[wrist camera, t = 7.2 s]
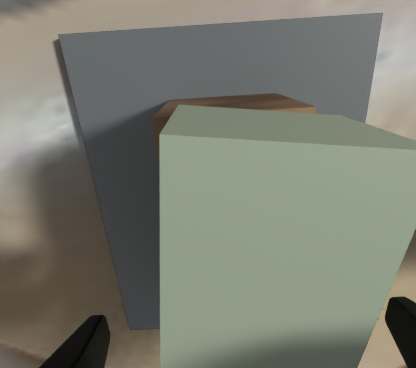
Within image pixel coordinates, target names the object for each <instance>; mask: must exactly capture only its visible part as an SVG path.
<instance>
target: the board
mask: <svg viewBox="0 0 416 368" xmlns="http://www.w3.org/2000/svg"><path fill="white" fill-rule="evenodd" d="M382 16H383V13H371V14H356V15H341V16H326V17H311V18H296V19H281V20H266V21H251V22H237V23H222V24H207V25H192V26H177V27H162V28H147V29H132V30H117V31H102V32H87V33H72V34H58V36H59V40H60V44H61V48H62V52H63V56H64V61H65V65H66V69H67V73H68V77H69V81H70V85H71V89H72V94H73V98H74V102H75V106H76V110H77V114H78V118H79V122H80V126H81V131H82V135H83V139H84V143H85V147H86V151H87V155H88V159H89V164H90V168H91V172H92V176H93V180H94V184H95V188H96V192H97V197H98V201H99V205H100V209H101V213H102V217H103V221H104V225H105V230H106V234H107V238H108V242H109V246H110V250H111V254H112V258H113V263H114V267H115V271H116V275H117V279H118V283H119V287H120V291H121V296H122V300H123V304H124V308H125V312H126V316H127V320H128V324H129V329H130V330H144V329H160V168H159V161H158V154H157V146H156V139H155V132H154V125H153V116H154V115H155V114H156V113H157V112H158V111H159V110H160V109H161V108H162V107H163V106H164V105H165V104H166V103H167V102H168V101H169V100H175V99H190V98H206V97H221V96H236V95H252V94H267V93H277V94H280V95H283V96H286V97H289V98H292V99H295V100H298V101H301V102H304V103H307V104H310V105H312V106H315V107H316V114H329V115H342V116H345V117H347V118H350V119H353V120H356V121H359V122H362V123H365V121H366V115H367V109H368V102H369V96H370V90H371V84H372V78H373V72H374V66H375V59H376V53H377V47H378V41H379V35H380V29H381V23H382Z"/></svg>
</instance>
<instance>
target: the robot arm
mask: <svg viewBox="0 0 416 368" xmlns="http://www.w3.org/2000/svg"><path fill="white" fill-rule="evenodd" d="M385 321H386V324H387V326H388V328H389V330H390V332H391V334H392V336H393V338H394V341H395V343H396V345H397V347H398V349H399V351H400V353H401V355H402V357H403V359H404V361H405V363H406V365H407V367H408V368H416V303H415V302H413V301H412V300H410V299H408V298H406V297H392V298H390V299H389V302H388V306H387V310H386V314H385ZM109 343H110V331H109V327H108V324H107V320H106V317H105V316H104V315H93V316H90V317H89V318H88V319H87V320H86V321H85V322H84V323H83V324H82V325H81V326H80V327H79V328H78V329H77V330H76V331H75V332H74V333H73V334H72V335H71V336H70V337H69V338H68V339H67V340H66V341H65V342H64V343H63V344H62V345H61V346H60V347H59V348H58V349H57V350H56V351H55V352H54V353H53V354H52V355H51V356H50V357H49V358H48V359H47V360H46V361H45V362H44V363H43V364H42V365H41V366H40V367H39V368H104V367H105V362H106V357H107V352H108V348H109Z"/></svg>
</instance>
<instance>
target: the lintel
mask: <svg viewBox="0 0 416 368" xmlns="http://www.w3.org/2000/svg"><path fill="white" fill-rule="evenodd" d="M159 142H160V368H357V367H358V365H359V362H360V360H361V357H362V355H363V353H364V350H365V348H366V346H367V343H368V341H369V338H370V336H371V334H372V331H373V329H374V327H375V324H376V322H377V320H378V317H379V315H380V312H381V310H382V308H383V305H384V303H385V301H386V298H387V296H388V293H389V291H390V289H391V286H392V284H393V282H394V279H395V277H396V274H397V272H398V270H399V267H400V265H401V263H402V260H403V258H404V256H405V253H406V251H407V248H408V246H409V244H410V241H411V239H412V237H413V234H414V232H415V229H416V141H415V140H412V139H409V138H406V137H403V136H400V135H397V134H394V133H391V132H388V131H385V130H383V129H380V128H377V127H374V126H371V125H368V124H365V123H362V122H359V121H356V120H353V119H350V118H347V117H345V116H342V115H329V114H314V113H299V112H283V111H268V110H253V109H238V108H223V107H207V106H192V105H178V106H177V108H176V109H175V111H174V113H173V114H172V116H171V117H170V119H169V120H168V122H167V123H166V125H165V127H164V128H163V130H162V131H161V133H160V134H159Z"/></svg>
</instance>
